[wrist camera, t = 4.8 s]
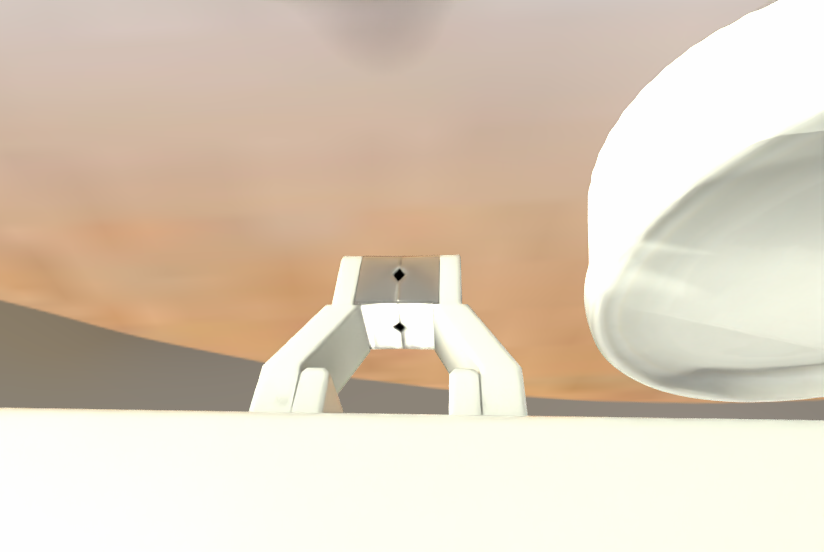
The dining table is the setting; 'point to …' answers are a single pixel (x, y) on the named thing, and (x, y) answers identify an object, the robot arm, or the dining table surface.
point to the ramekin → (718, 217)
